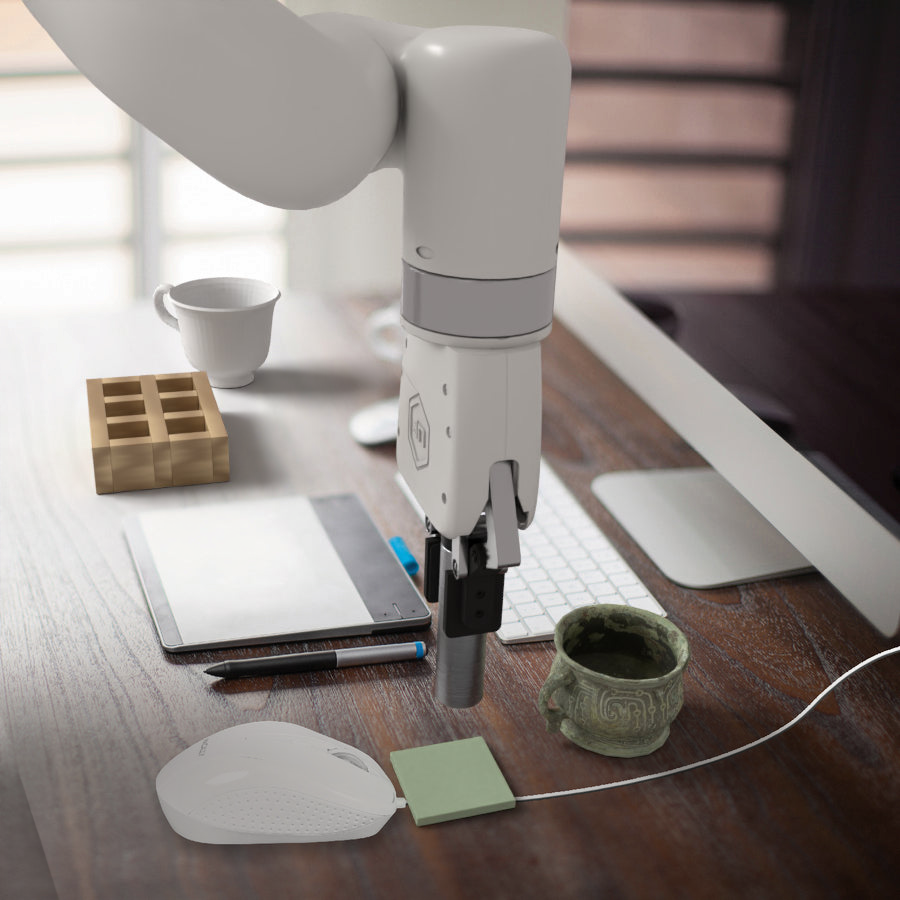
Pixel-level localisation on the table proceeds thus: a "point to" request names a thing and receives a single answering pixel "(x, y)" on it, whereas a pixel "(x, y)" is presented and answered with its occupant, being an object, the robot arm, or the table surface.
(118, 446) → the desk rack
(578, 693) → the vessel
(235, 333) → the teacup
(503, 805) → the mat
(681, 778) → the table surface
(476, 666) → the steel peg
